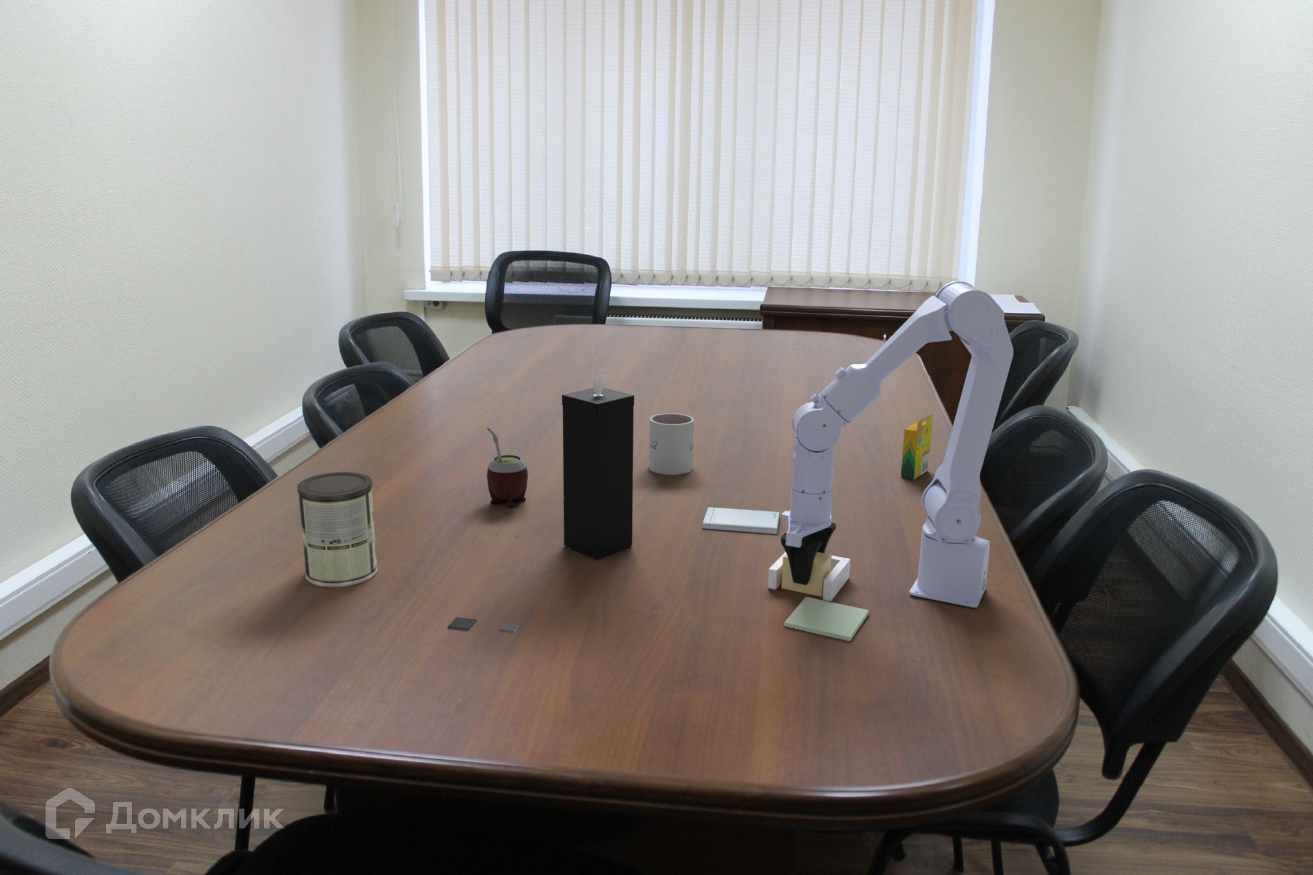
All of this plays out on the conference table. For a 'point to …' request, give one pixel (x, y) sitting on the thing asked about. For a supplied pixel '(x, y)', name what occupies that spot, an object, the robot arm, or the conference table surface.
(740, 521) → the hard drive
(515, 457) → the mate gourd
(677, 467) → the mug
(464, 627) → the black square blocks
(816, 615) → the mat
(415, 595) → the conference table surface
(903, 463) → the crayon box
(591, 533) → the tall black box
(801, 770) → the conference table surface
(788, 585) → the block
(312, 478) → the coffee can
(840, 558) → the frame
